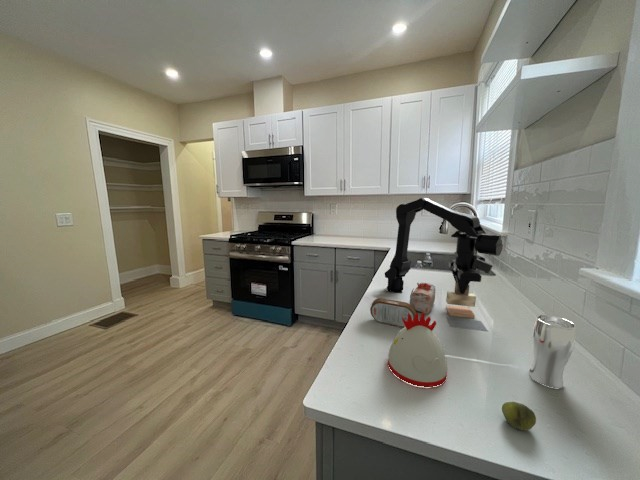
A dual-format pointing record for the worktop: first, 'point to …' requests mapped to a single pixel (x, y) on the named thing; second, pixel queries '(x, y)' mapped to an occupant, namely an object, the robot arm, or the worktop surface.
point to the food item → (423, 297)
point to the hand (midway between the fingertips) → (461, 292)
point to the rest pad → (466, 323)
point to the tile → (460, 311)
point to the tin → (391, 311)
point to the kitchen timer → (418, 353)
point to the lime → (519, 415)
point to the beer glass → (551, 349)
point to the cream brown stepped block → (461, 297)
